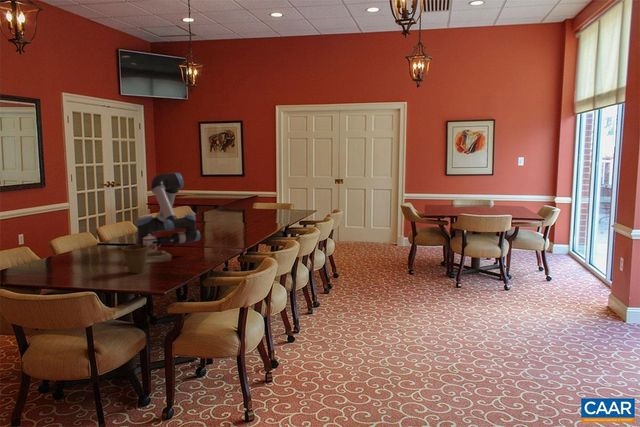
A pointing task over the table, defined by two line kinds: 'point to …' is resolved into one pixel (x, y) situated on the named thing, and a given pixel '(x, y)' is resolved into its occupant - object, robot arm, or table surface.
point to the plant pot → (135, 257)
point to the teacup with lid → (150, 247)
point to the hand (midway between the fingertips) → (145, 241)
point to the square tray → (158, 257)
